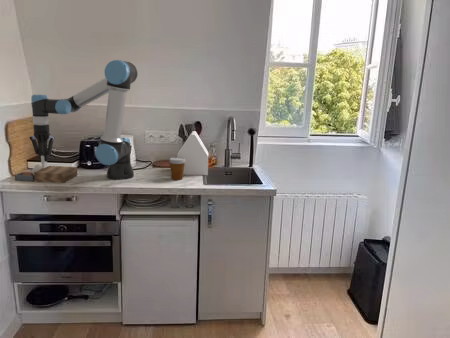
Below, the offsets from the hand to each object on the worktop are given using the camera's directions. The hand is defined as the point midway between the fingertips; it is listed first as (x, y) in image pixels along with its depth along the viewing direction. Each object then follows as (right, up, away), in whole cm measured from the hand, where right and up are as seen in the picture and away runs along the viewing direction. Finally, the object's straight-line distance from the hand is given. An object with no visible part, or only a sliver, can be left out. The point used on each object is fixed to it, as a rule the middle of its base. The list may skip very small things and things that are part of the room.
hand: (44, 166), depth 193 cm
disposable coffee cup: (+71, -7, +12) cm, 73 cm away
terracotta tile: (-9, -2, +1) cm, 9 cm away
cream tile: (-3, -2, +1) cm, 4 cm away
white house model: (+79, -3, +31) cm, 85 cm away
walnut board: (+6, -6, +1) cm, 9 cm away
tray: (-7, -6, +2) cm, 9 cm away
